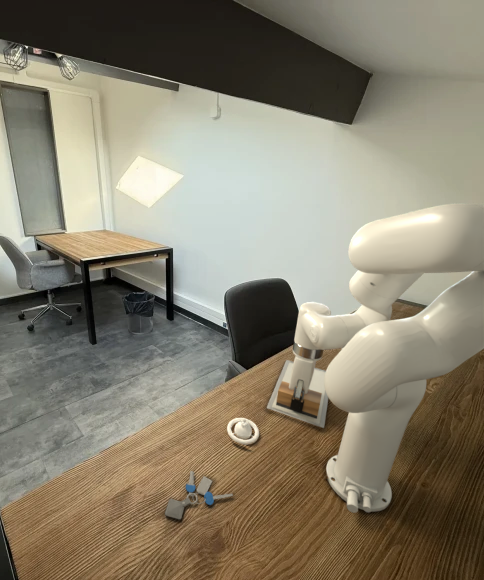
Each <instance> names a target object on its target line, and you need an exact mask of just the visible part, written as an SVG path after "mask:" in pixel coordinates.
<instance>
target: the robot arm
mask: <svg viewBox="0 0 484 580" xmlns="http://www.w3.org/2000/svg"><path fill="white" fill-rule="evenodd" d="M347 253H348V254H347V255H348V258H349V262H350V264H351V265H352V266H353V268H355V270H357V271H356V272H355V273H354V274H353V275H352V277H351V278H350V280H349V283H348V289H349V292H350V294H351V296H352V297H353V298H354V300H356V301H357V302H358V303H359V304H361V305H360V306H359V307H358V309H356V310H355V311H354V312H353V313H346V314H336V315H332V311H331V309H330V307H329V306H327V305H326V304H324V303H321V302H316V301H307V302H304V303H302V304H301V305H300V306H299V309H298V313H297V314H298V315H297V320H296V327H295V333H294V339H293V345H292V350H291V351H292V353H293V355H294V360H293V362H294V363H293V368H292V374H291V379H290V384H289V389H290V390H293V389H294V393H293V397H292V399H291V405H290V410H293V411H296V412H299V413H302V410H303V405H304V400H303V399H304V394H306V393H307V392H308V389H309V386H310V383H311V380H312V377H313V373H314V369H315V368H316V366H317V365H316V364H317V362H318V361H321V360H323V359H322V358H323V355H324V351H328V350H329V351H330V350H331V351H332V350H338V349H341V350H340V351H339V352H338V353H337V354H336V355H335V356H334V358H332V360H331V361H330V363H329V364H328V366H327V368H326V370H325V371H326V373H325V378H324V385H325V390H326V393H327V396H328V400H329V401H330V402H331V403H332V404H333V405H334V406H335V407H336V408H338V409H339V410H340V411H341V410H342V411H344V412H346V413H348V415H347V418H346V421H345V424H344V425H345V426H344V429H343V432H342V433H343V434H342V436H341V440H340V441H341V442H340V445H339V449H338V452H337V454H336V455H333V456H332V457H330V458H329V460H328V461H327V463H326V470H325V471H326V476H327V481H328V483H329V485H330V487H331V489H332V490H333V491H334V492H335V493H336V494H337V495H338V496H339V497H340V498H341V499H342V500H343V501H345V502H346V509H347V511H349V512H350V513H354V514H357V513H358V512H359V510H363V511H364V512H365V513H371V512H381V511H383V510H385V509H387V508H388V507H389V505H390V503H391V501H392V498H393V495H392V494H393V491H392V487H391V485H390V483H389V481H388V479H389V477H390V475H391V471H392V468H393V465H394V462H395V459H396V457H397V453H398V451H399V448H400V446H401V443H402V440H403V438H404V435H405V432H406V429H407V426H408V424H409V422H410V420H411V418H412V416H413V415H414V413H415V412H416V410H417V408H418V407H419V405H420V403H421V402H422V400H423V398H424V396H425V393H426V390H427V380H430V379H435V378H439V377H442V376H445V375H448V374H449V373H451V372H452V371H454V370H455V369H456V368H458V367H459V366H461V365H462V364H464V363H465V362H466V361H468V360H469V359H471V358H472V357H474V356H475V355H477V354H478V353H479V352H481V351H482V350H484V203H467V202H463V203H461V202H459V203H457V202H456V203H446V204H439V205H434V206H430V207H425V208H422V209H416V210H413V211H409V212H404V213H400V214H396V215H393V216H388V217H383V218H380V219H376V220H372V221H370V222H368V223H365V224H364V225H362V226H361V227H360V228H359V229H358V230H356V232H355V233H354V235H353V236H352V238H351V239H350V242H349V245H348V252H347ZM466 272H470V273H469V274H467V275H466V276H465V277H463V278H462V279H460V280H459V281H457V282H455V283H454V284H452V285H450V286H449V287H448V288H446V289H444V291H442V292H441V293H440V294H438V295H437V297H436V298H435V299H434V300H433V301H432V302H431V303H430V304H429V305H427V306H426V307H424V309H423V310H421V311H420V312H418V313H416V314H415V315H413V316H410V317H405V318H400V319H399V318H398V319H391V318H392V314H393V304H394V303H395V302H396V301H397V300H398V299H399V298H400V297H401V296H402V295H403V294H404V293H405V292H406V291H407V290H409V288H410V287H411V286H413V285H414V284H415V283H416V282H417V281H418V280H419V279H420V278H421V277H422V276H423V275H424V274H447V273H448V274H449V273H466ZM342 348H343V349H342ZM296 386H297V388H296ZM302 388H303V389H304V390H302ZM301 393H302V396H301Z"/></svg>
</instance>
